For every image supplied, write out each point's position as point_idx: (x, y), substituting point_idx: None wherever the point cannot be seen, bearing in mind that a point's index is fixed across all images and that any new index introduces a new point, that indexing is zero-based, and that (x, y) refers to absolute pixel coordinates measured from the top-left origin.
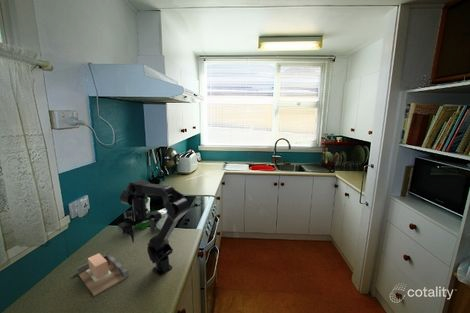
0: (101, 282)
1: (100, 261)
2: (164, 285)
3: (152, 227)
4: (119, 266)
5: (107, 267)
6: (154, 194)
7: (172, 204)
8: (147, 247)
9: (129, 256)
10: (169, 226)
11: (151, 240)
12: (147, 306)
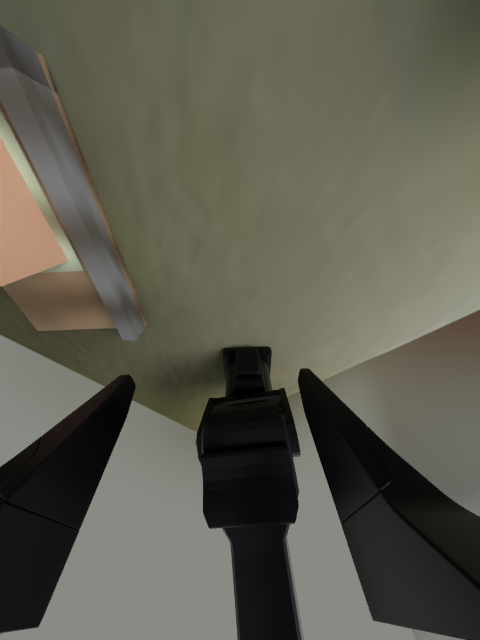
0: (48, 293)
1: None
2: None
3: (327, 467)
4: (104, 293)
5: (38, 271)
6: None
7: None
8: (201, 438)
9: (179, 184)
10: None
11: (210, 513)
12: (169, 415)
